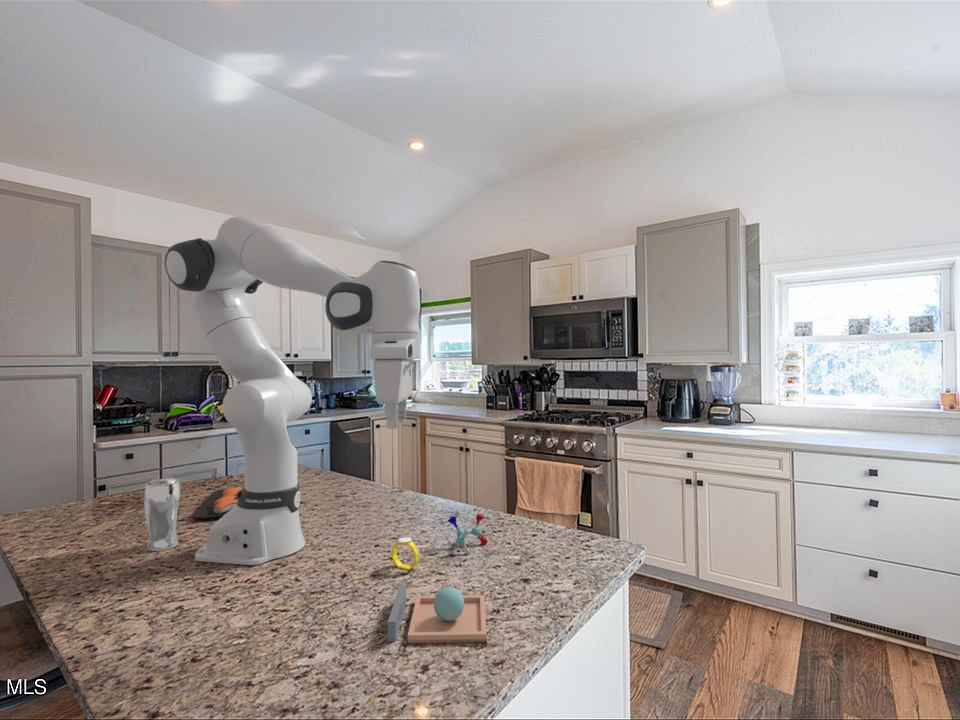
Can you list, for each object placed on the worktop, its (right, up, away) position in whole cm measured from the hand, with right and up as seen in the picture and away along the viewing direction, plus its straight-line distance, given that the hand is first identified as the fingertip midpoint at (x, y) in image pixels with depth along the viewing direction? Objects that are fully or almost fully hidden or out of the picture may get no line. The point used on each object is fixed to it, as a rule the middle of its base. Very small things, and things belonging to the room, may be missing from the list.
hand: (396, 424), depth 88 cm
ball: (+10, -31, -9) cm, 34 cm away
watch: (0, -31, +11) cm, 33 cm away
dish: (+10, -31, -9) cm, 34 cm away
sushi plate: (-52, -32, +57) cm, 84 cm away
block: (+2, -31, -9) cm, 32 cm away
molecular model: (+12, -31, +22) cm, 40 cm away
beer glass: (-58, -32, +23) cm, 70 cm away
